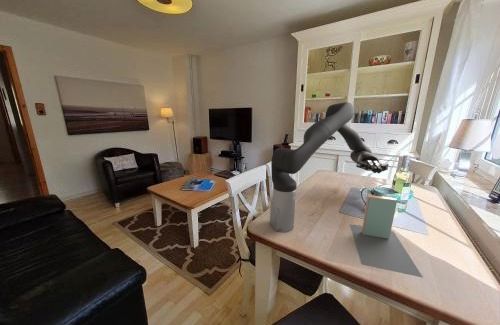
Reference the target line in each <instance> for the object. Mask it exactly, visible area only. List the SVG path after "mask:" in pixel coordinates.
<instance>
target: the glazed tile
mask: <svg viewBox="0 0 500 325" xmlns="http://www.w3.org/2000/svg"><path fill="white" fill-rule="evenodd" d="M397 203H398V199H397V198H395V197H387V196H381V195H371V194H367V197H366V203H365V208H364V209H365V210H364V215H363V220H362V221H363V222H362V225H361V226H362V234H363V235H368V236H374V237H380V238H386V239H389V237H390V232H391V231H392V228H393V223H394V218H395V212H396V207H397Z"/></svg>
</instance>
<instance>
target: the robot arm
mask: <svg viewBox="0 0 500 325" xmlns="http://www.w3.org/2000/svg"><path fill="white" fill-rule="evenodd" d="M325 114H326V117H324V118H322V119H319V120H318V121H317V120H316V121H315V122H314V123H313V124H312V125H311V126H310V127H308V128H307V129H306V130H305V132H304V135H303V143H302V144H301V145H300V146H299V147H297V148H296V149H292V148H286V147H278V148H276V149H275V150H274V151H273V153H272V156H271V161H270V162H271V165H270V166H271V167H270V168H271V169H270V170H271V182H272V187H273V188H272V202H271V203H270V206H269V208H270V210H269V225H270V227H272V228H273V229H274V231H275V232H280V233H281V232H283V233H286V232H287V233H288V232H290V231H292V230H293V229H294V226H295V225H294V224H295V212H296V198H297V197H296V196H297V181H296V180H295V179H294V178H293V177H291V175H294V174H297V173H299V171H300V170H301V169H302V168H304V166H305V165H306V163H308V161H309V159H311V157H312V156H313V155H314V154H315V153H316V152H317V150H319V149H320V148H321V147H322V146H323V145H324V144H325V143H326V142H327V141H328V140H329V139H331V137H332V136H333V135H334V134H335V133H336V132H338V133H339V135H340V136H341V137H342V138H343V139H344V141H345V143H346V145H347V147H348V148H349V149H350V151H351V153H350V156H349V157H350V159H351V160H352V161H353V162H354V163H355V167H357V168H359V169H361V170H365V171H366V172H367V171H369V172H373V174H380V173H382V172H385V171H388V169H389V163H382V162H380V161H379V159H378V157H377V156H376V155H374V154H373V152H372V150H371V148H369V147H368V146H367V145H366V144H365V142H363V141H362V140H363V139H362V137H361V136H360V135H359V133H358V132H357V131H356V130H354V129H353V128H351V127H350V126H349V125H347V123H349V122H350V121H351V120H352V119H353V117H354V114H355V107H354V105H353V104H352V103H351V102H348V101H346V102H344V101H343V102H339V103H335V104H331V105H329V106H328V107H327V109H326V113H325Z"/></svg>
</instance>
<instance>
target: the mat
mask: <svg viewBox="0 0 500 325" xmlns="http://www.w3.org/2000/svg"><path fill="white" fill-rule="evenodd" d="M362 226H363V225H356V224H349V227H350V229H351V233H352V236H353V237H352V238H353V239H354V242H355V246H356V247H355V248H356V249H357V252H358V257H359V259H360V263H361V265H363V266H369V267H372V268H376V269H377V268H378V269H382V270H387V271H392V272H396V273H400V274H401V273H402V274H406V275H410V276H414V277H415V276H416V277H420V278H424V276H423V275H422V273H421V272H420V270H419V269H418V267H417V265H416V264H415V262H414V261H413V259H412V257H411V256H410V255H409V253H408V252H407V250H406V249H405V247H404V245H403V244H402V242H401V241H400V239H399V237H398V236H397V234H396V233H395V231H393V230H391V232H390V237H389V239H386V238H380V237H374V236H368V235H363V234H362Z"/></svg>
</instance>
